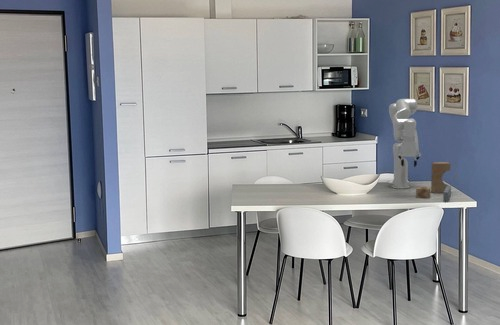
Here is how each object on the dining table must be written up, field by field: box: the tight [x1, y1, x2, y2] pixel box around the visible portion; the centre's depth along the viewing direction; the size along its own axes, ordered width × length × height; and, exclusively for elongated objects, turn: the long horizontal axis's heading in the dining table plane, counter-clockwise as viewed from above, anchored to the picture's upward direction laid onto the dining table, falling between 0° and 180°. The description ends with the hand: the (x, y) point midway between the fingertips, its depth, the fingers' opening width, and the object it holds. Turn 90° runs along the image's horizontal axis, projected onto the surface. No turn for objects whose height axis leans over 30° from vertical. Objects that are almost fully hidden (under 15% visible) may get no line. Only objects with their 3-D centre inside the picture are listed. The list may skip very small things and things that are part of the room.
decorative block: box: [430, 161, 451, 194], centre depth 463 cm, size 11×6×20 cm, turn 96°
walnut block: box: [415, 186, 431, 199], centre depth 450 cm, size 8×8×6 cm
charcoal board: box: [442, 185, 452, 203], centre depth 445 cm, size 2×24×6 cm, turn 160°
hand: (408, 166), depth 451 cm, fingers open, 7 cm apart
